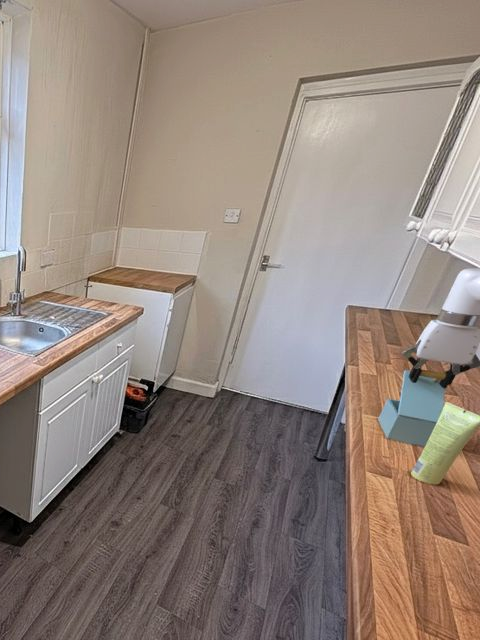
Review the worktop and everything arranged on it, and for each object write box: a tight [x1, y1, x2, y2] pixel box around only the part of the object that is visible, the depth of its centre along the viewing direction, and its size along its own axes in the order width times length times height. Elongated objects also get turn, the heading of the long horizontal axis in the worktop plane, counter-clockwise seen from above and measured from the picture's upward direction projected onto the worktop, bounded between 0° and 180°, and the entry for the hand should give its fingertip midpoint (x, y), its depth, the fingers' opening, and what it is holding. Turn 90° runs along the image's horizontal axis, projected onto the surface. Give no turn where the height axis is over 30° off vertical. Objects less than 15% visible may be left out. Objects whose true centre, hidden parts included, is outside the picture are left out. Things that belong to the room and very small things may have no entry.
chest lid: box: [398, 369, 446, 423], centre depth 111 cm, size 14×8×5 cm
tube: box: [410, 401, 480, 486], centre depth 96 cm, size 6×5×20 cm
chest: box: [377, 398, 436, 448], centre depth 117 cm, size 13×8×8 cm, turn 146°
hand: (427, 383), depth 111 cm, fingers closed on chest lid, 5 cm apart
